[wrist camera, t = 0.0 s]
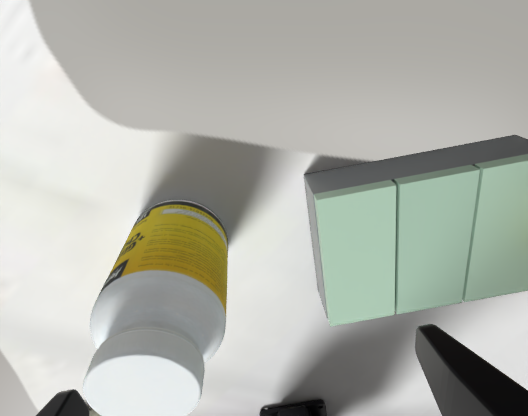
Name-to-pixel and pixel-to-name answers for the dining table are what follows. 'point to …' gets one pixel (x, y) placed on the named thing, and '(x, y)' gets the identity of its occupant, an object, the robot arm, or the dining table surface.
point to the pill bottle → (160, 314)
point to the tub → (399, 169)
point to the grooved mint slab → (424, 240)
